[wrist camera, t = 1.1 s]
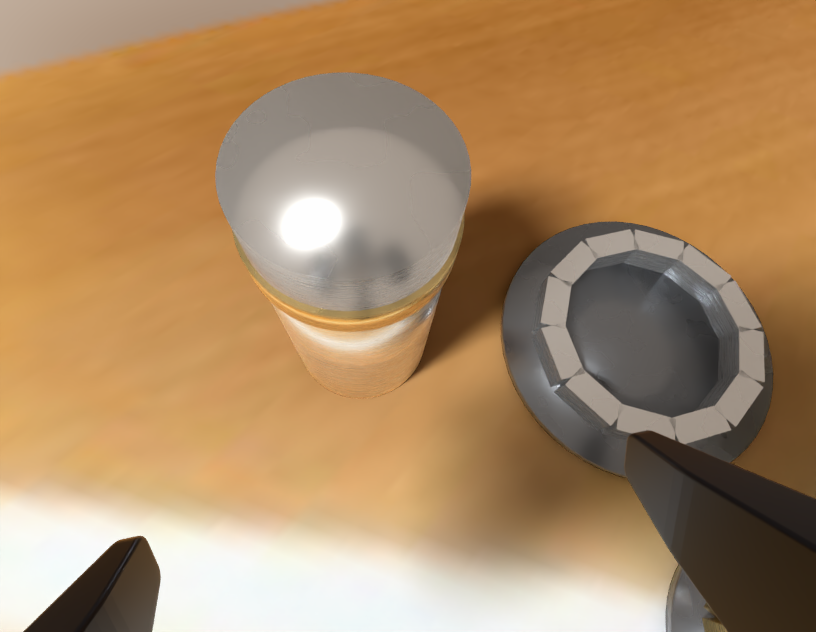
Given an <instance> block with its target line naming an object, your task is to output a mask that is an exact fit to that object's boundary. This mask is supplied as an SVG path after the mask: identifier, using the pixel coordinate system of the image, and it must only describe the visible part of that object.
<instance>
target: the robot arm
mask: <svg viewBox="0 0 816 632" xmlns="http://www.w3.org/2000/svg"><path fill="white" fill-rule="evenodd" d="M624 469H625V474H626V477H627V479H628V481H629V483H630V484H631V486H632V488H633V489H634V491H635V493H636V495H637V496H638V498H639V500H640V501H641V503H642V505H643V507H644V508H645V510H646V512H647V513H648V515H649V517H650V518H651V520H652V522H653V524H654V525H655V527H656V529H657V530H658V532H659V534H660V536H661V537H662V539H663V541H664V542H665V544H666V545H667V547H668V549H669V550H670V552H671V553H672V555H673V556H674V558H675V559H676V561H677V562H678V563H679V565H680V566H681V568H682V569H683V570H684V572H685V573H686V575H687V576H688V577H689V579H690V580H691V582H692V583H693V584H694V586H695V587H696V588H697V590H698V591H699V593H700V594H701V595H702V597H703V598H704V600H705V601H706V602H707V604H708V605H709V607H710V608H711V609H712V611H713V612H714V613H715V615H716V616H717V618H718V619H719V620H720V622H721V623H722V625H723V626H724V627H725V629H726V630H727V632H816V499H815V498H812V497H810V496H807V495H805V494H803V493H800V492H798V491H795V490H793V489H791V488H788V487H786V486H783V485H781V484H779V483H776V482H774V481H772V480H769V479H767V478H764V477H762V476H760V475H757V474H755V473H752V472H750V471H748V470H745V469H743V468H740V467H738V466H736V465H733V464H731V463H728V462H726V461H724V460H721V459H719V458H716V457H714V456H712V455H709V454H707V453H704V452H702V451H700V450H697V449H695V448H692V447H690V446H688V445H685V444H683V443H680V442H678V441H676V440H673V439H671V438H668V437H666V436H664V435H661V434H659V433H656V432H654V431H651V430H646V431H641V432H636V433H632V434H630V435H629V437H628V438H627V445H626V454H625V464H624ZM159 587H160V569H159V566H158V564H157V562H156V559H155V557H154V555H153V553H152V550H151V548H150V546H149V543H148V541H147V540H146V538H144V537H143V536H136V537H131V538H126V539H122V540H119V541H117V542H115V543H114V544H113V545H112V546H111V547H109V548H108V549H107V550H106V551H105V552H104V553H103V554H102V555H101V556H100V557H99V558H98V559H97V560H96V561H95V562H94V563H93V564H92V565H91V566H90V567H89V568H88V569H87V570H86V571H85V572H84V573H83V574H82V575H81V576H80V577H79V578H78V579H77V580H76V581H75V582H74V583H73V584H72V585H71V586H70V587H69V588H67V589H66V590H65V591H64V592H63V593H62V594H61V595H60V596H59V597H58V598H57V599H56V600H55V601H54V602H53V603H52V604H51V605H50V606H49V607H48V608H47V609H46V610H45V611H44V612H43V613H42V614H41V615H40V616H39V617H38V618H37V619H36V620H35V621H34V622H33V623H32V624H31V625H30V626H29V627H28V628H27V629H26V630H24V631H23V632H152V630H153V624H154V617H155V611H156V605H157V599H158V593H159Z"/></svg>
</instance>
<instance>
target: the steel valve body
mask: <svg viewBox="0 0 816 632" xmlns="http://www.w3.org/2000/svg"><path fill="white" fill-rule="evenodd" d="M215 176H216V189H217V194H218V198H219V202H220V205H221V207H222V210H223V212H224V214H225V217H226V219H227V220H228V222H229V224H230V226H231V228H232V231H233V236H234V240H235V244H236V247H237V249H238V252H239V254H240V257H241V259H242V260H243V262H244V264H245V266H246V268H247V269H248V271H249V273H250V275H251V277H252V278H253V280H254V282H255V283H256V285H257V286H258V288H259V289H260V291H261V292H262V293H263V294H264V295H265V297H266V298H267V299H268V300H269V301H270V302H271V303H272V305H273V307H274V309H275V311H276V312H277V314H278V316H279V318H280V320H281V322H282V324H283V326H284V327H285V329H286V331H287V333H288V335H289V337H290V339H291V341H292V342H293V344H294V346H295V348H296V350H297V352H298V354H299V356H300V357H301V359H302V361H303V363H304V365H305V367H306V368H307V370H308V372H309V373H310V374H311V376H312V377H313V378H314V379H315V380H316V381H317V382H318V383H319V384H320V385H322V386H323V387H325V388H326V389H327V390H329V391H331V392H333V393H335V394H338V395H341V396H345V397H349V398H359V399H361V398H372V397H377V396H380V395H384V394H386V393H388V392H391V391H393V390H394V389H396V388H397V387H399V386H401V385H402V384H403V383H404V382H405V381H406V380H407V379H408V378H409V377H410V376H411V375H412V374H413V372H414V371H415V369H416V368H417V366H418V364H419V362H420V360H421V357H422V354H423V351H424V348H425V344H426V341H427V338H428V334H429V331H430V327H431V324H432V320H433V317H434V314H435V310H436V307H437V303H438V300H439V296H440V293H441V290H442V286H443V285H444V284H445V282H446V280H447V278H448V276H449V274H450V273H451V271H452V268H453V265H454V262H455V259H456V256H457V253H458V249H459V246H460V243H461V240H462V235H463V229H464V211H465V207H466V204H467V201H468V197H469V192H470V186H471V166H470V159H469V155H468V152H467V148H466V145H465V143H464V141H463V139H462V136H461V134H460V132H459V131H458V129H457V128H456V126H455V125H454V123H453V122H452V121H451V119H450V118H449V117H448V116H447V115H446V114H445V113H444V111H443V110H441V109H440V108H439V107H438V106H437V105H436V104H435V103H434V102H432V101H431V100H429V99H428V98H427V97H425V96H424V95H422V94H421V93H419V92H417V91H415V90H413V89H412V88H410V87H408V86H405V85H403V84H401V83H398V82H396V81H393V80H389V79H386V78H383V77H378V76H373V75H368V74H359V73H328V74H319V75H314V76H309V77H305V78H302V79H298V80H295V81H292V82H289V83H287V84H285V85H282V86H280V87H278V88H276V89H274V90H272V91H270V92H268V93H267V94H265V95H263V96H262V97H261V98H259V99H258V100H256V101H255V102H254V103H252V104H251V105H250V106H249V107H248V108H247V109H246V110H245V111H244V112H243V113H242V114H241V115H240V116H239V117H238V119H237V120H236V121H235V122H234V123H233V125H232V126H231V128H230V130H229V131H228V133H227V134H226V136H225V138H224V141H223V143H222V145H221V147H220V151H219V155H218V158H217V164H216V174H215Z"/></svg>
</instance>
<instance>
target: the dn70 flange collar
mask: <svg viewBox="0 0 816 632" xmlns="http://www.w3.org/2000/svg"><path fill="white" fill-rule="evenodd" d="M501 342H502V349H503V355H504V359H505V362H506V366H507V369H508V373H509V375H510V378H511V380H512V382H513V385H514V387H515V389H516V391H517V393H518V395H519V396H520V398H521V400H522V402H523V403H524V405H525V407H526V408H527V409H528V411H529V412H530V413H531V415H532V416H533V417H534V419H535V420H536V421H537V423H538V424H539V425H540V426H541V427H542V428H543V429H544V430H545V431H546V432H547V433H548V434H549V435H550V436H551V437H552V438H553V439H554V440H556V441H557V442H558V443H559V444H560V445H562V446H563V447H564V448H565V449H566V450H568V451H569V452H571V453H572V454H574V455H575V456H577V457H578V458H580V459H582V460H583V461H585V462H587V463H589V464H591V465H593V466H595V467H597V468H599V469H601V470H604V471H606V472H609V473H612V474H615V475H618V476H621V477H625V478H627V477H626V474H625V469H624V464H625V454H626V445H627V438H628V437H629V435H630V434H632V433H636V432H641V431H646V430H651V431H654V432H656V433H659V434H661V435H664V436H666V437H668V438H671V439H673V440H676V441H678V442H680V443H683V444H685V445H688V446H690V447H692V448H695V449H697V450H700V451H702V452H704V453H707V454H709V455H712V456H714V457H716V458H719V459H721V460H724V461H726V462H728V463H730V462H732V461H733V460H734V459H735V458H737V457H738V456H739V455H740V454H741V453H742V452H743V451H745V450H746V448H747V447H748V446H749V445H750V443H751V442H752V441H753V440H754V439H755V437H756V436H757V434H758V432H759V430H760V429H761V427H762V425H763V423H764V421H765V418H766V415H767V412H768V410H769V407H770V401H771V396H772V390H773V368H772V358H771V353H770V349H769V345H768V340H767V338H766V335H765V332H764V329H763V327H762V324H761V322H760V320H759V318H758V316H757V314H756V312H755V310H754V308H753V306H752V305H751V303H750V302H749V300H748V299H747V297H746V296H745V294H744V293H743V291H742V290H741V289H740V288H739V286H738V284H737V283H736V281H734V280H733V279H732V278H731V276H730V275H729V274H728V273H726V272H725V271H724V270H723V269H722V268H721V267H720V266H719V265H718V264H717V263H715V262H714V261H713V260H712V259H711V258H709V257H708V256H707V255H705V254H704V253H702V252H701V251H700V250H698V249H697V248H695V247H694V246H692V245H690V244H688V243H687V242H685V241H683V240H681V239H679V238H677V237H675V236H673V235H670V234H668V233H666V232H663V231H660V230H657V229H654V228H651V227H647V226H643V225H638V224H633V223H624V222H597V223H590V224H584V225H580V226H577V227H573V228H570V229H567V230H565V231H563V232H560V233H558V234H556V235H554V236H553V237H551V238H549V239H548V240H546V241H545V242H543V243H542V244H541V245H540V246H538V247H537V248H536V249H535V250H534V251H533V252H532V253H531V254H530V255H529V256H528V257H527V258H526V260H525V261H524V262H523V263H522V265H521V266H520V268H519V269H518V271H517V273H516V274H515V276H514V277H513V279H512V282H511V284H510V286H509V288H508V291H507V293H506V297H505V300H504V304H503V309H502V317H501Z"/></svg>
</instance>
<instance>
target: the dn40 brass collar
mask: <svg viewBox="0 0 816 632" xmlns="http://www.w3.org/2000/svg"><path fill="white" fill-rule="evenodd" d="M666 632H727V630H726V629H725V627H724V626H723V625H722V623H721V622H720V620H719V619H718V618H717V616H716V615H715V613H714V612H713V611H712V609H711V608H710V607H709V605H708V604H707V602H706V601H705V600H704V598H703V597H702V595H701V594H700V593H699V591H698V590H697V588H696V587H695V586H694V584H693V583H692V582H691V580H690V579H689V577H688V576H687V575H686V573H685V572H684V570H683V569H682V568H681V566H680V565H678V567H677V569H676V571H675V573H674V576H673V579H672V581H671V584H670V588H669V592H668V597H667V605H666Z"/></svg>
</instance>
